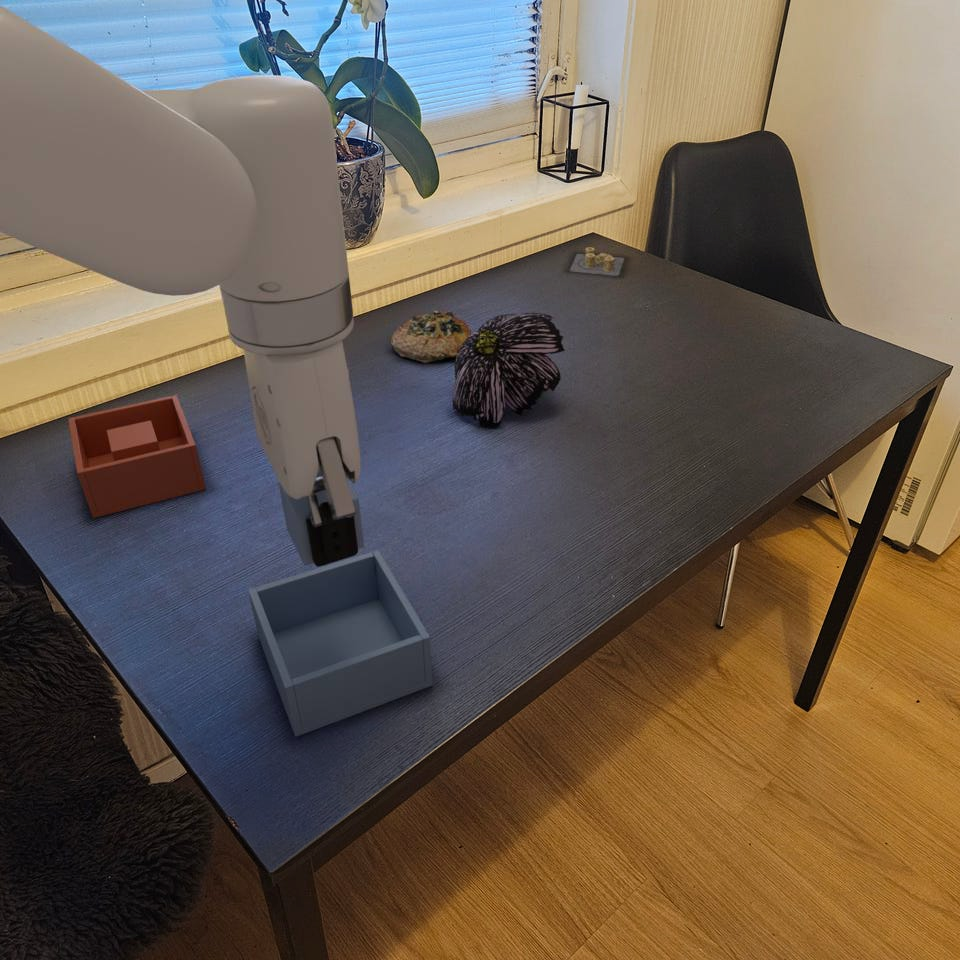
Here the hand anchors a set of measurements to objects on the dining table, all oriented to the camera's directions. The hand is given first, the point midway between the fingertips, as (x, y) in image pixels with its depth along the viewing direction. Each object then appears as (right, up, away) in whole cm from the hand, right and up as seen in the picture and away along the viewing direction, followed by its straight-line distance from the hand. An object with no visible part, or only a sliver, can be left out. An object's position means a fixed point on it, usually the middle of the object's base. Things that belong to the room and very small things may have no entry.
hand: (324, 535), depth 61 cm
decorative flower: (+14, +14, +42) cm, 46 cm away
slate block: (0, 0, 0) cm, 0 cm away
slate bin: (0, -11, +8) cm, 13 cm away
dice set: (+31, +39, +77) cm, 92 cm away
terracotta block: (-25, +5, +28) cm, 38 cm away
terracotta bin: (-25, +5, +29) cm, 38 cm away
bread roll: (+5, +22, +53) cm, 58 cm away
